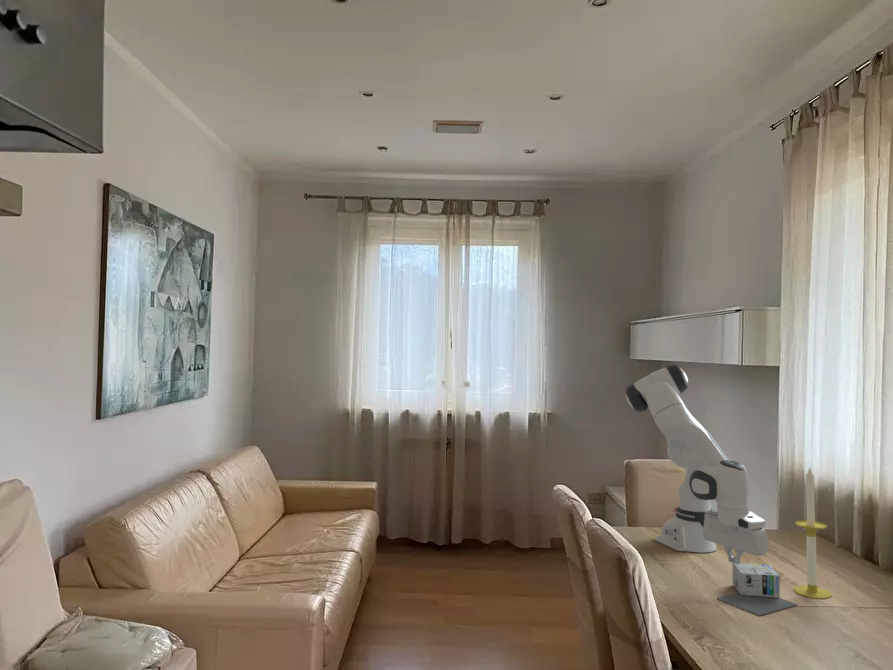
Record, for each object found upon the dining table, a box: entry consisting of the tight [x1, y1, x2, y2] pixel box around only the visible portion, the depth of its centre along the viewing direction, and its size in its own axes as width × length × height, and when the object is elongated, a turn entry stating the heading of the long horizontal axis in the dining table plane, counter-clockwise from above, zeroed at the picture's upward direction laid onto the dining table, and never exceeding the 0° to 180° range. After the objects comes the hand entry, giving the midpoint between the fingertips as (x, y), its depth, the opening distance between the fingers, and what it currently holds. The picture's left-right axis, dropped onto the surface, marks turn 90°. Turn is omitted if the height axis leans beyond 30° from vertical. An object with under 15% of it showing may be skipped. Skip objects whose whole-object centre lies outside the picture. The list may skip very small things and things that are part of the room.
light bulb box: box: [731, 562, 781, 598], centre depth 194 cm, size 11×7×11 cm
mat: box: [716, 591, 798, 617], centre depth 186 cm, size 14×16×1 cm
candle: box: [793, 466, 833, 600], centre depth 194 cm, size 10×10×38 cm
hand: (734, 562), depth 193 cm, fingers closed
